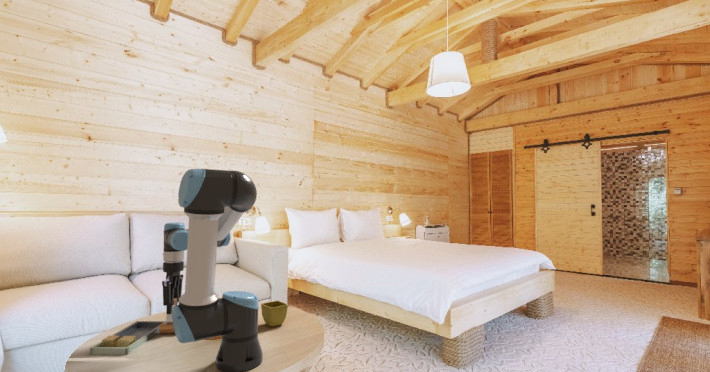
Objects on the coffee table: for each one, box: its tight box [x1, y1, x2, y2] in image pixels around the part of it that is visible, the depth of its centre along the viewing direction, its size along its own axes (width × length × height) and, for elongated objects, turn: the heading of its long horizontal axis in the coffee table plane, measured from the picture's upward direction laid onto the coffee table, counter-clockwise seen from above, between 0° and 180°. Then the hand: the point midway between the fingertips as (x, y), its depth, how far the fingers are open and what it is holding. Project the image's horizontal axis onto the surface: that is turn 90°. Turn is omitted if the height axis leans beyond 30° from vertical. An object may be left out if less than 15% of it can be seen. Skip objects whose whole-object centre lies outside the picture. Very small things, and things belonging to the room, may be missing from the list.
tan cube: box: [101, 335, 120, 347], centre depth 134 cm, size 4×4×4 cm
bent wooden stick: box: [158, 298, 177, 334], centre depth 149 cm, size 3×9×13 cm, turn 91°
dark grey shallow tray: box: [113, 320, 167, 342], centre depth 148 cm, size 16×13×3 cm
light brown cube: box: [118, 336, 136, 347], centre depth 134 cm, size 4×4×4 cm
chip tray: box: [89, 334, 148, 355], centre depth 134 cm, size 12×13×3 cm
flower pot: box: [260, 300, 289, 328], centre depth 163 cm, size 9×9×9 cm
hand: (172, 320), depth 148 cm, fingers closed on bent wooden stick, 3 cm apart
